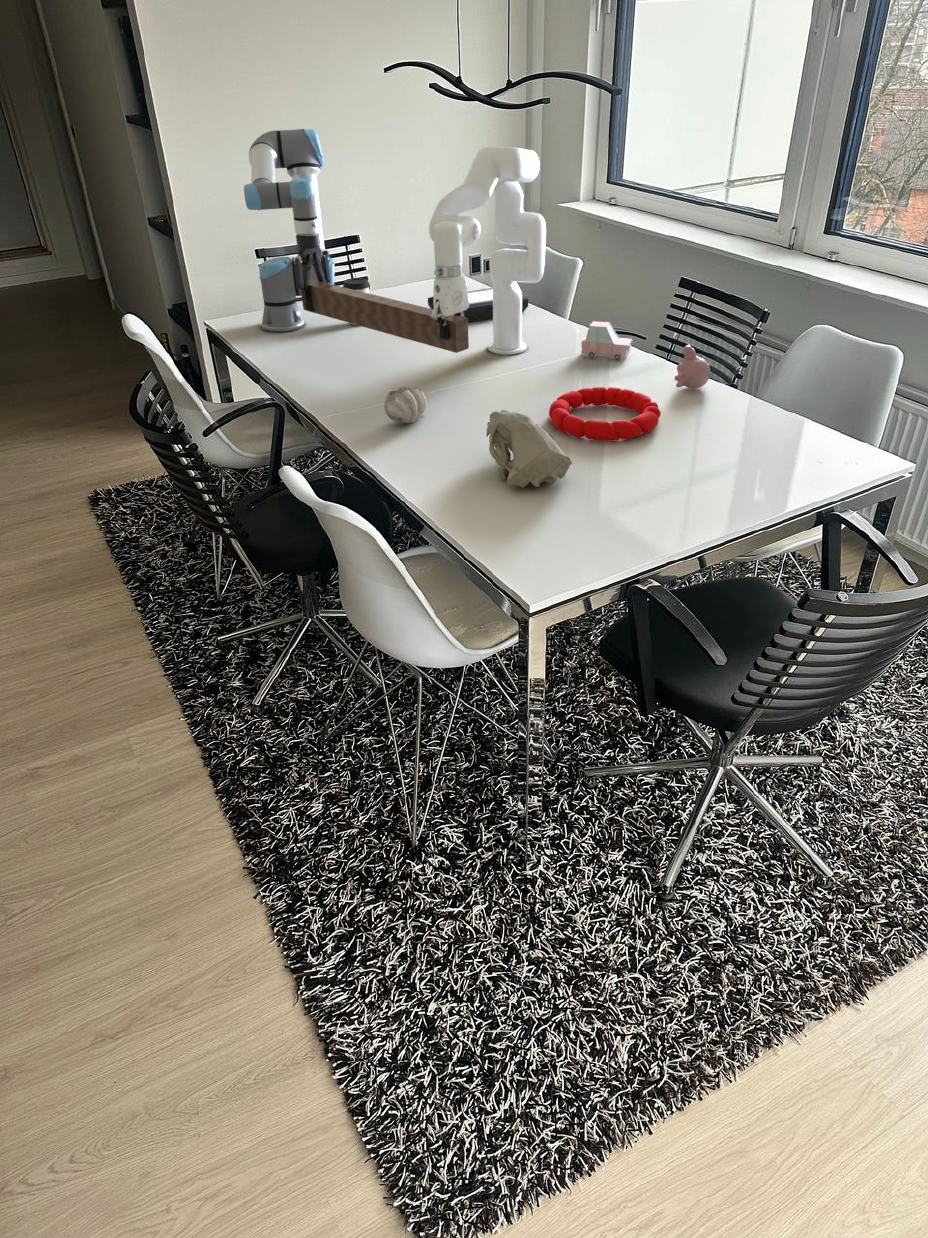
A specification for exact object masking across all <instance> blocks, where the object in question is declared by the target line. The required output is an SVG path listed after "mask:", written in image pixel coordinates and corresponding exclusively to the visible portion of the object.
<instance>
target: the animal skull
mask: <svg viewBox="0 0 928 1238" xmlns="http://www.w3.org/2000/svg"><path fill="white" fill-rule="evenodd" d="M486 425H487V427H486V435H485V436H486V438H487V437H489V438H488V440H489V444H488V445H489V446H488V450H489V454H490V456H491V457H492V458H493V459H494V460H495V462H496V464H497V466H499V468H500V470H501V471H502V472H501V478H502V479H507V480H506V484H507V486H517V487H518V486H519V488H523V489H524V488H526V486H527V485H529V483H531V485H533V486H534V487H536V488H540V485H541V484H542V482H544V483H549V484H550V485H553V484H555V483H556V482H557V480H561V479H563V478H565V476H566V474H567V472H568V471H569V469H570V467H571V466H572V464H573V462H572V461H571V458H570V457H568V456H567V455H565V453H564V451H562V449H561V448H560V446H559V444H557V443H556V439H555V438H554V436H553V435H551V434H550V433H548V432H547V431H546V430H545V429H544V428H542V427H541V426H539V425H538V424H537V423H536V424H535V422H534V421H533V419H532V418H531V417H530V416H529V415H527V414H524V413H519V412H515V411H509V410H507V409H502V410H500V411H499V410H495V411H492V412H491V414H489V421H487V423H486ZM511 453H512V454H511ZM511 455H512V457H513V458H512V460H511ZM507 474H508V475H507Z"/></svg>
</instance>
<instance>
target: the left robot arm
mask: <svg viewBox="0 0 928 1238" xmlns="http://www.w3.org/2000/svg"><path fill="white" fill-rule="evenodd" d="M248 161H249V165H250V166H251V175H250V177H251V179H250V180H251V181H250V182H251V183H246V184H244V186H243V196H244V201H245V207H246V208H247V210H249V211H263V210H265V211H266V210H277V209H292V215H293V225H294V233H295V234H296V235H295V240H296V247H297V249H298V253H297V255H296V256H295V257H294V256H292V257H290V256H277V257H273V258H270V259H267V260H265V261H263V262H261V263H260V265H259V266H258V270H259V280H260V285H261V286H260V287H261V292H262V299H263V313H262V319H261V326H262V330H264V331H265V332H271V333H286V332H293V331H296V330H297V331H298V330H300V329H302V328H304V326H305V319H304V317H303V314H302V312H301V310H300V307H299V306H298V305H299V304H298V303H297V297H302V295H301V290H302V293H303V300H304V301H305V304H306V310H308V311H307V312H309V311H313V305H312V297H311V290H308V289H309V280H316V281H320V282H324V283H328V284H333V285H335V259H334V258H331V253H330V252H329V250H326V247H325V238H324V230H323V220H322V210H321V203H320V193H319V181H318V176H319V175H320V174H321V173H322V172H321V171H322V170H321V168H322V167H324V166H325V161H324V156H323V151H322V147H321V143H320V139H319V134H318V133H317V131H316V130H315V129H313V128H300V129H299V128H297V129H284V130H283V129H280V130H270V131H267V132H265V133H263V134H261V135H259V136H258V137H257V138H256V139H255V140H254V141H253V143H251V146H250V148H249V151H248ZM276 169H286V173H287V175H288V176H289V177H290V178H291V180H290V181H281V182H279V181H278V182H276ZM306 310H305V311H306Z"/></svg>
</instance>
